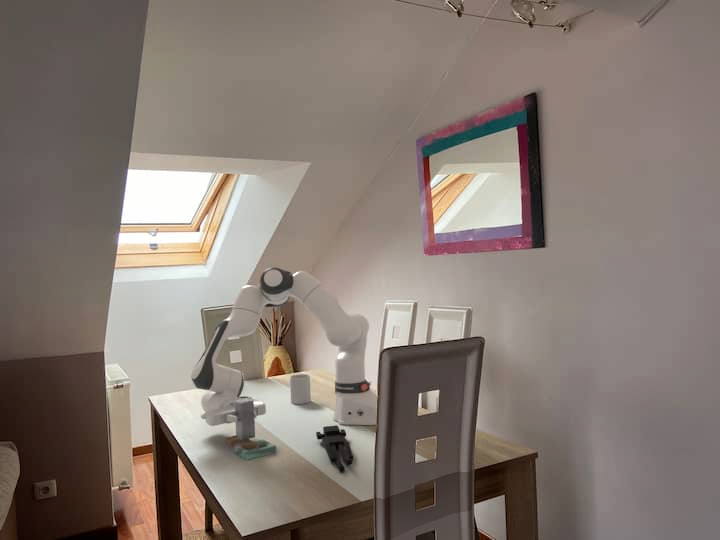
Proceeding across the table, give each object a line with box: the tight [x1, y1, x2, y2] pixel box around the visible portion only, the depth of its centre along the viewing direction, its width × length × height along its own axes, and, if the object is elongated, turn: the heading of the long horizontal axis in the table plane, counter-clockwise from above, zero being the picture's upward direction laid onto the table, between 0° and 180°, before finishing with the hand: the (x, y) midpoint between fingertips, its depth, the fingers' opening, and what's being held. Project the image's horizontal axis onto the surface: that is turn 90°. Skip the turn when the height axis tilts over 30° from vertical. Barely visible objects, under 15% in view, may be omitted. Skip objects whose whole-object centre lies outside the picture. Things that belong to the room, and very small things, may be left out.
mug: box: [289, 373, 312, 405], centre depth 235 cm, size 12×8×11 cm
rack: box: [225, 434, 277, 461], centre depth 177 cm, size 20×10×2 cm, turn 38°
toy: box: [315, 425, 354, 472], centre depth 168 cm, size 10×5×30 cm
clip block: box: [235, 398, 256, 440], centre depth 177 cm, size 4×4×12 cm
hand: (246, 417), depth 177 cm, fingers closed on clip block, 4 cm apart
